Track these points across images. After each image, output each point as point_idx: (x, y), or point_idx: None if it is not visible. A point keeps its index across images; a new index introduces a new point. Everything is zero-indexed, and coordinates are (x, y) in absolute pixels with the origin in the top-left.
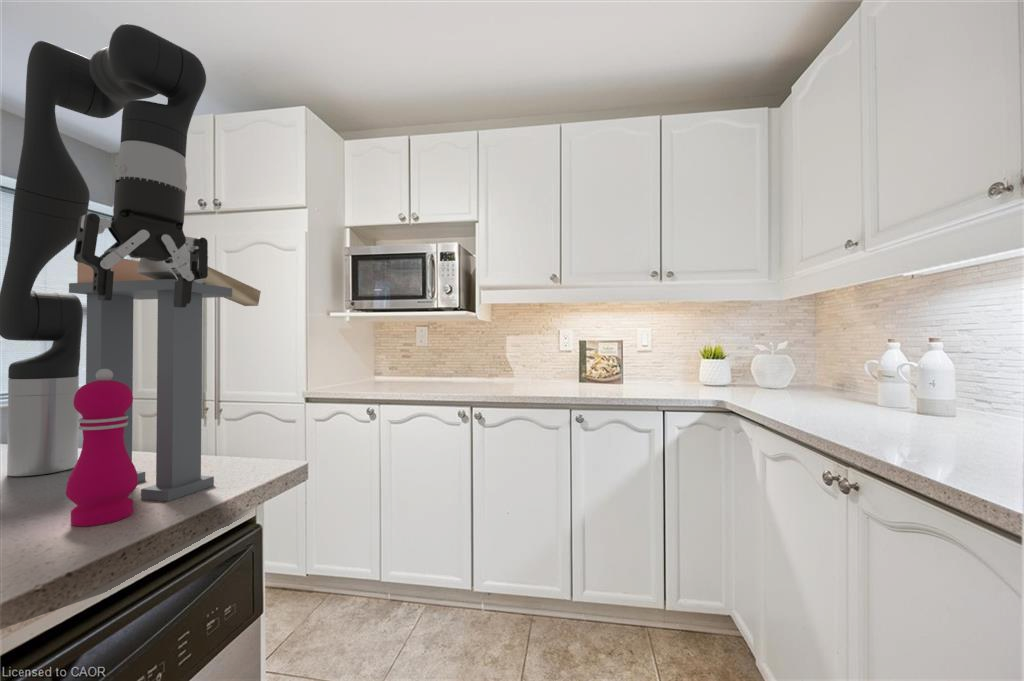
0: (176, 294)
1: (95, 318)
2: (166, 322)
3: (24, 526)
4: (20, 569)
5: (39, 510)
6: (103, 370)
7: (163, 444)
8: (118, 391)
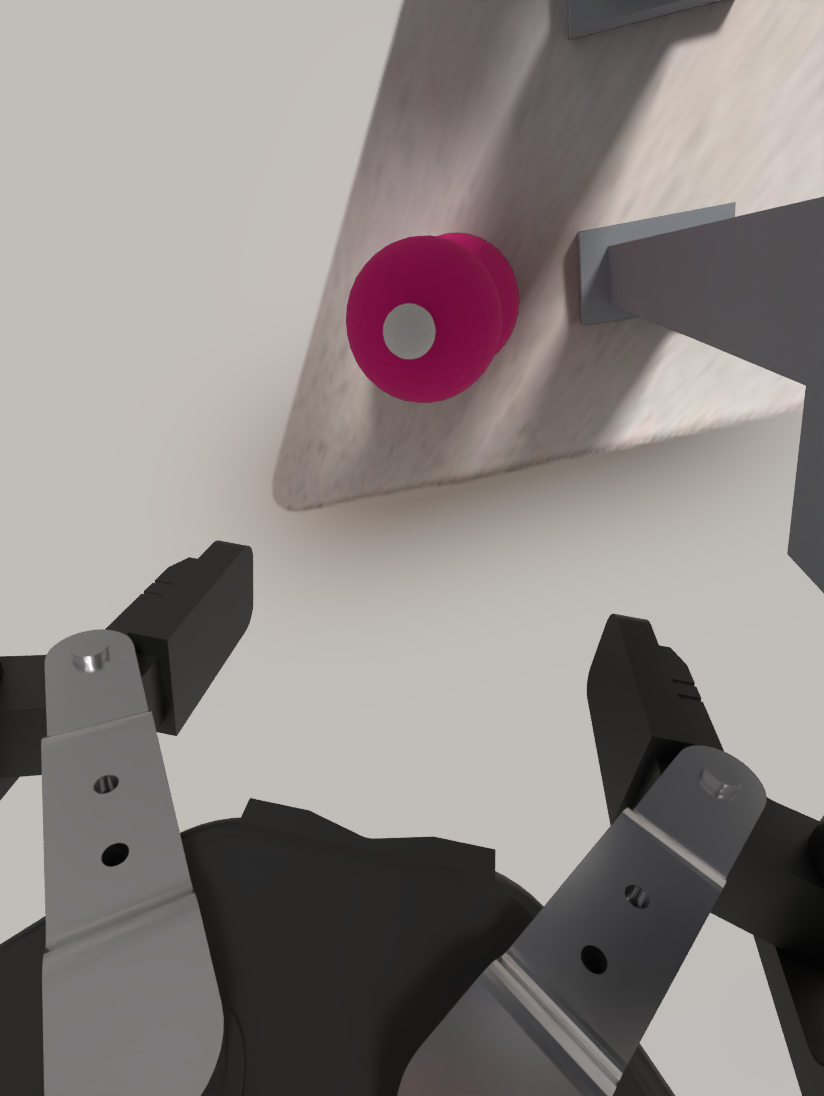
0: (619, 684)
1: None
2: (787, 302)
3: (374, 192)
4: (295, 435)
5: (440, 65)
6: (395, 349)
7: (626, 273)
8: (424, 399)
